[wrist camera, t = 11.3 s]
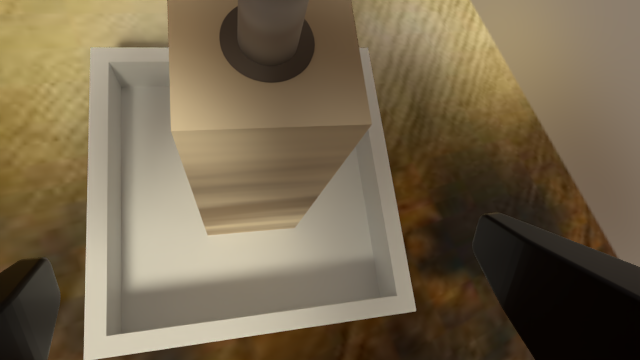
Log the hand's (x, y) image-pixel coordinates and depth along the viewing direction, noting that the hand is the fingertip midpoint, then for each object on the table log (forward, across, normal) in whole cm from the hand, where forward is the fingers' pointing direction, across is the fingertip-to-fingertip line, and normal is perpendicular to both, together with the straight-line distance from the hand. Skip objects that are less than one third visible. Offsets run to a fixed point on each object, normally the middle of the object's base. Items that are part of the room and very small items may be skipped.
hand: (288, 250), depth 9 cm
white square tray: (+13, 0, +6) cm, 14 cm away
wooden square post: (+12, 0, +5) cm, 14 cm away
